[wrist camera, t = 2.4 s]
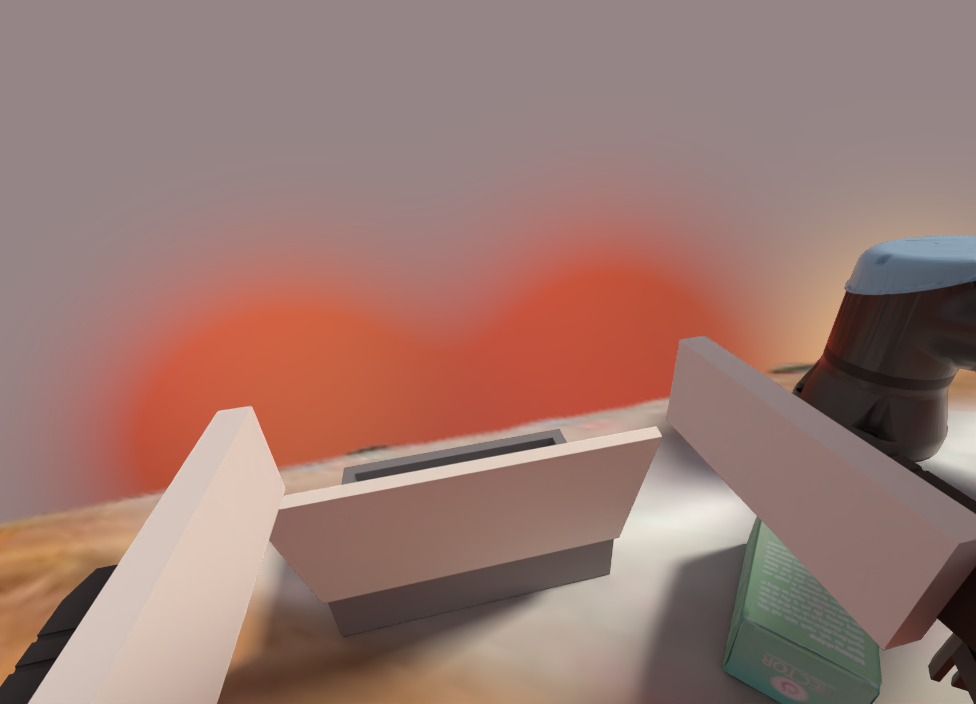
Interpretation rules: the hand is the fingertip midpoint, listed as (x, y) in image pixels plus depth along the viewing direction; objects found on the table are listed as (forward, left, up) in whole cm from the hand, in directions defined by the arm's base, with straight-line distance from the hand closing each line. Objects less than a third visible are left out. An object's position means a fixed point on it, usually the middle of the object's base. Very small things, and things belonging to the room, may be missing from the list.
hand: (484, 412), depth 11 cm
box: (-24, -6, -31) cm, 39 cm away
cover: (0, -11, -17) cm, 21 cm away
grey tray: (0, -20, -30) cm, 36 cm away
